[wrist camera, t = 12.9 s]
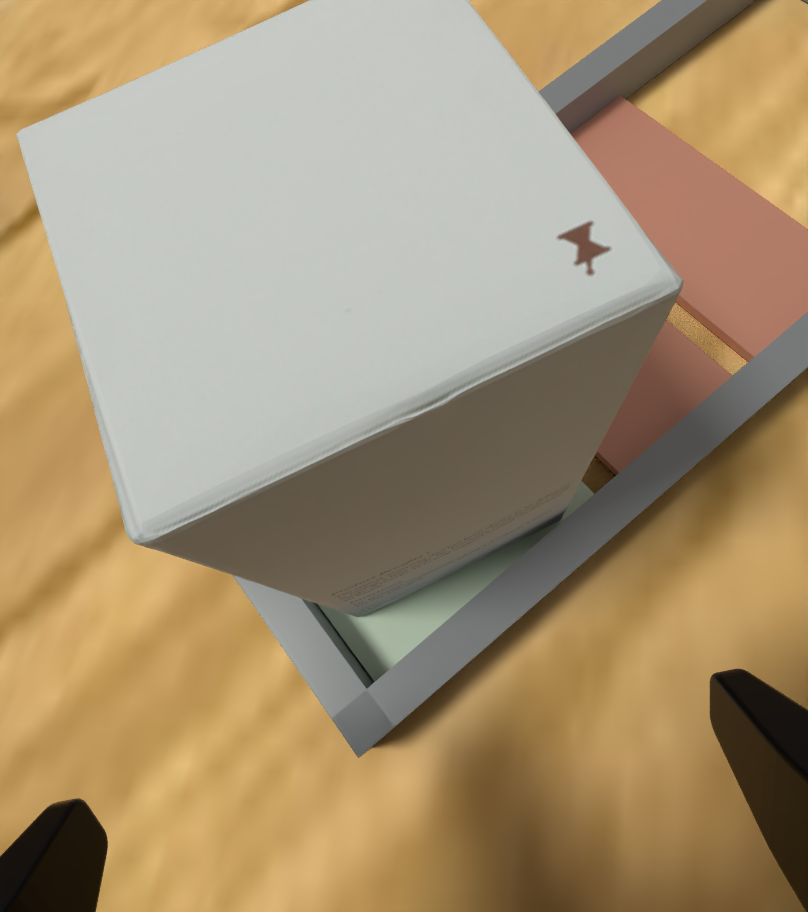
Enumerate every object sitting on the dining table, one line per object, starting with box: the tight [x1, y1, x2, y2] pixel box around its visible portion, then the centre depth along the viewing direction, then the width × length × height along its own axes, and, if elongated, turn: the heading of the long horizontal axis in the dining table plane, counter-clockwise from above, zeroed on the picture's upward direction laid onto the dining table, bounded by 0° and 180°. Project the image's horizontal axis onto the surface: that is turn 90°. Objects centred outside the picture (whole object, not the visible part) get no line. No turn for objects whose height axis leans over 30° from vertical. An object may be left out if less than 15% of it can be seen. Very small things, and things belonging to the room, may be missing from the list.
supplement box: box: [16, 0, 684, 617], centre depth 14 cm, size 7×7×13 cm
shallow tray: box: [233, 0, 808, 758], centre depth 21 cm, size 13×32×2 cm, turn 129°
